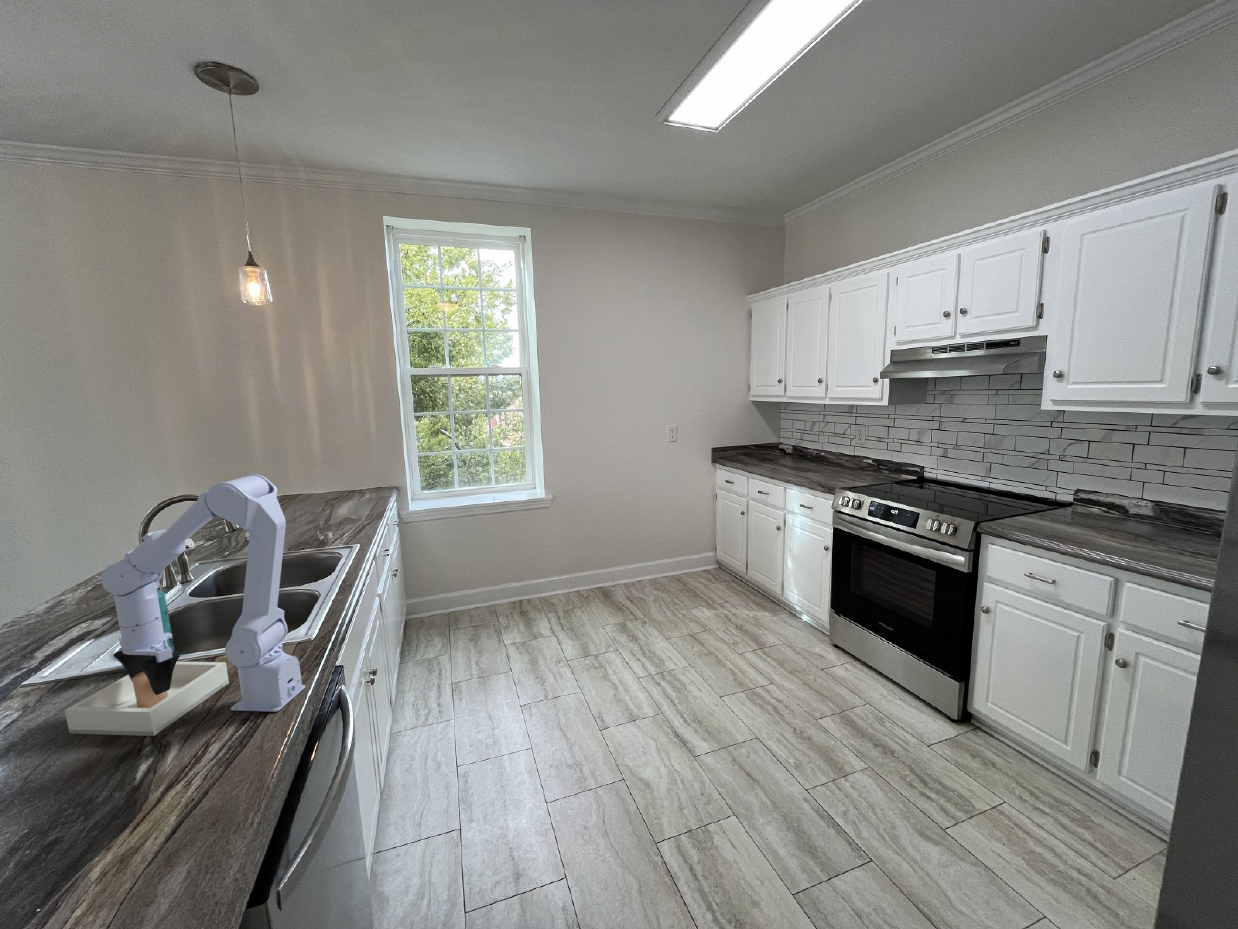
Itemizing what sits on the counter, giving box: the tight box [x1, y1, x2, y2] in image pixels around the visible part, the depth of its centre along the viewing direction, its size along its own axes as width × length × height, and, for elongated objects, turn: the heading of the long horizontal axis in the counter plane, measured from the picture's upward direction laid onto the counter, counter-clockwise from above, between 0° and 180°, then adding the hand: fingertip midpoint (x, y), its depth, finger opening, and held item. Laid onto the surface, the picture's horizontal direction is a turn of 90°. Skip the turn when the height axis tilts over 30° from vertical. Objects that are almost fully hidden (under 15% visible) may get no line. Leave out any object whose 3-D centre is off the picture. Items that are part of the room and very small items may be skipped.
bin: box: [64, 661, 230, 737], centre depth 97 cm, size 16×16×5 cm
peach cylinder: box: [132, 672, 168, 708], centre depth 96 cm, size 4×4×6 cm
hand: (152, 687), depth 96 cm, fingers open, 7 cm apart
